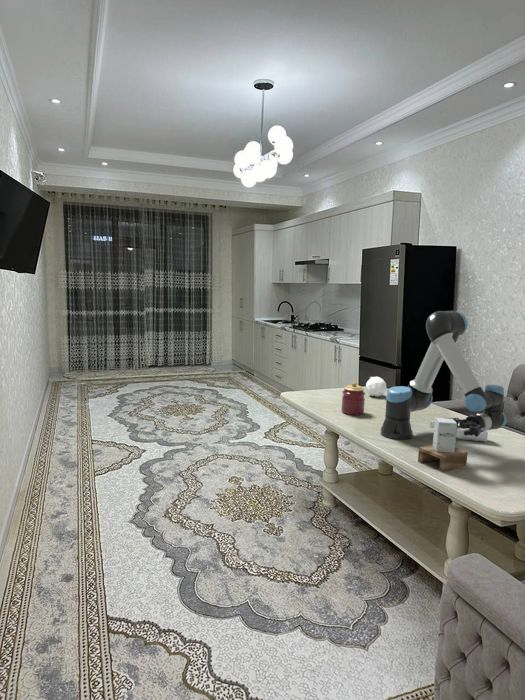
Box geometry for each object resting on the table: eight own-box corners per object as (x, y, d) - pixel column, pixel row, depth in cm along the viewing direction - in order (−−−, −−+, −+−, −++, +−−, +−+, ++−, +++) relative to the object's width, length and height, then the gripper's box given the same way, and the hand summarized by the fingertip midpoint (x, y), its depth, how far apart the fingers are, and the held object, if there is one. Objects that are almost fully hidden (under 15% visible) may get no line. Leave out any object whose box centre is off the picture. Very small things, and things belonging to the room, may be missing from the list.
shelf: (417, 461, 204) (419, 447, 203) (440, 456, 211) (441, 442, 210) (443, 471, 193) (444, 457, 192) (466, 466, 200) (467, 452, 199)
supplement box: (435, 452, 198) (438, 421, 196) (432, 446, 205) (434, 417, 203) (454, 453, 197) (457, 423, 195) (450, 447, 204) (453, 418, 202)
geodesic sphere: (358, 388, 319) (371, 373, 315) (362, 384, 332) (375, 369, 327) (374, 403, 316) (389, 388, 311) (378, 398, 329) (392, 384, 324)
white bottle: (443, 435, 242) (444, 419, 241) (484, 438, 237) (485, 423, 236) (445, 439, 234) (446, 423, 233) (487, 443, 230) (488, 427, 229)
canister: (362, 410, 285) (364, 380, 282) (365, 416, 272) (367, 385, 270) (340, 409, 286) (342, 379, 284) (341, 414, 273) (343, 384, 271)
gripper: (503, 439, 199) (468, 447, 189) (453, 423, 221) (419, 429, 210) (505, 422, 198) (470, 428, 188) (454, 407, 220) (420, 412, 209)
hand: (443, 429), depth 199 cm, fingers open, 13 cm apart
